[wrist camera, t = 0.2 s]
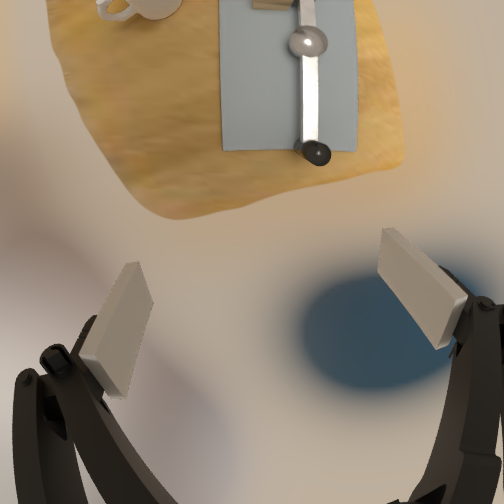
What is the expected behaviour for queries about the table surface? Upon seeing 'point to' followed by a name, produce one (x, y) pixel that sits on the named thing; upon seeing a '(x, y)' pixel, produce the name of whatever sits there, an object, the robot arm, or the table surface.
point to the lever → (309, 81)
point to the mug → (139, 9)
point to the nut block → (271, 4)
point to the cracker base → (285, 77)
